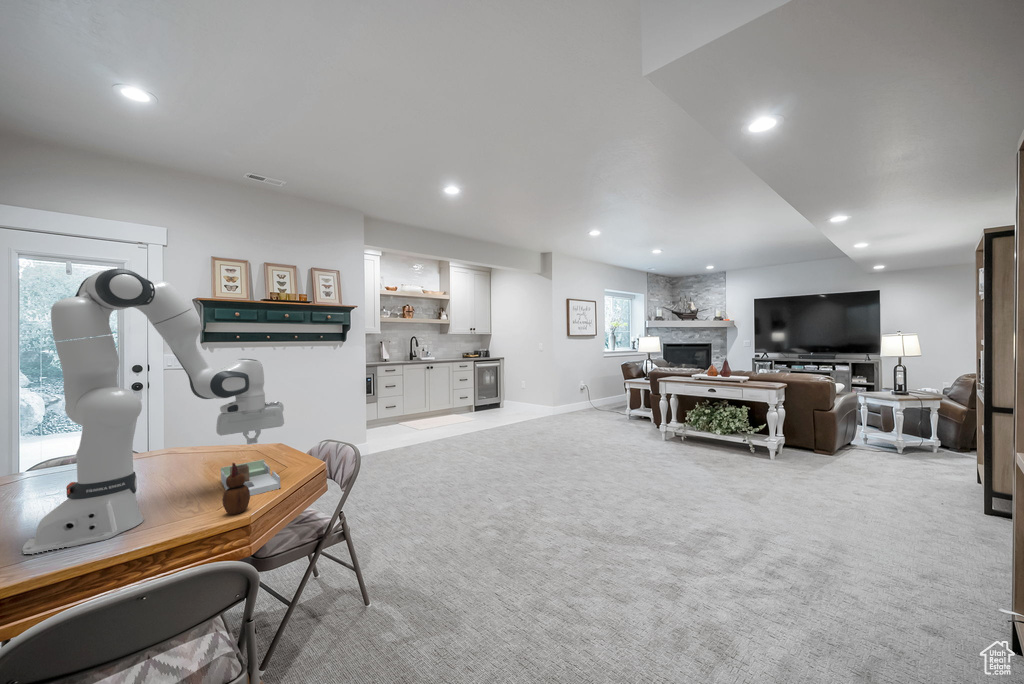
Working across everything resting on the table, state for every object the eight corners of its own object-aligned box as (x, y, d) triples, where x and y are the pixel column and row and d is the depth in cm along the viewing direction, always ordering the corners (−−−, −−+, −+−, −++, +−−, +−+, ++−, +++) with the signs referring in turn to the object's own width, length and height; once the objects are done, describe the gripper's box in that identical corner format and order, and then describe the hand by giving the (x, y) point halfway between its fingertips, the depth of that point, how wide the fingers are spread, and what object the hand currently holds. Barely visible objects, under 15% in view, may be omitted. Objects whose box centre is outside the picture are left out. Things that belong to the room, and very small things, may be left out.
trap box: (231, 500, 132) (230, 484, 132) (221, 481, 153) (220, 467, 153) (280, 488, 141) (279, 473, 141) (264, 472, 162) (264, 459, 162)
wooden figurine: (239, 516, 118) (236, 464, 118) (219, 517, 118) (216, 464, 118) (254, 507, 125) (251, 457, 125) (235, 507, 125) (233, 458, 125)
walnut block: (232, 484, 141) (231, 470, 141) (230, 481, 145) (229, 467, 145) (249, 481, 145) (248, 466, 145) (247, 478, 148) (246, 464, 148)
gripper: (280, 400, 156) (282, 436, 156) (214, 407, 142) (216, 448, 142) (285, 401, 151) (287, 439, 151) (217, 409, 137) (219, 450, 137)
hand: (252, 443), depth 146 cm, fingers closed
